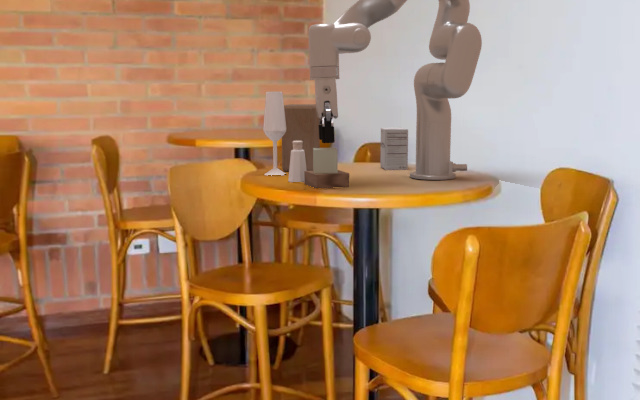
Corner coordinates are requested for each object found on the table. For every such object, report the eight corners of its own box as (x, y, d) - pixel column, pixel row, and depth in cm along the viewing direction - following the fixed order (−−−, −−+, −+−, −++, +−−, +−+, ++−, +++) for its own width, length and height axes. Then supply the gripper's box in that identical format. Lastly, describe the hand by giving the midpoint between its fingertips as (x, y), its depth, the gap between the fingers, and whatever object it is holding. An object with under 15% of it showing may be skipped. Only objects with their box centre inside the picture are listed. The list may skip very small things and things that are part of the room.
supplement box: (379, 167, 226) (380, 127, 224) (402, 167, 226) (403, 127, 224) (384, 170, 218) (384, 128, 216) (408, 169, 219) (408, 128, 217)
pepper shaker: (310, 182, 192) (310, 141, 190) (290, 183, 190) (290, 141, 189) (304, 179, 197) (304, 139, 195) (285, 180, 196) (285, 140, 194)
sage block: (336, 170, 188) (335, 147, 187) (337, 173, 182) (337, 149, 181) (313, 170, 188) (313, 148, 187) (314, 173, 182) (313, 150, 181)
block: (313, 172, 214) (313, 105, 210) (281, 171, 216) (280, 105, 212) (320, 168, 223) (320, 104, 220) (289, 167, 225) (288, 104, 222)
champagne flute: (261, 173, 211) (260, 91, 207) (283, 172, 213) (282, 91, 209) (266, 176, 205) (265, 91, 201) (289, 175, 207) (288, 91, 203)
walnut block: (335, 184, 191) (335, 169, 191) (349, 188, 183) (349, 173, 182) (304, 186, 188) (304, 171, 187) (316, 190, 180) (316, 174, 179)
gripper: (342, 73, 173) (344, 143, 175) (336, 73, 190) (337, 137, 192) (311, 74, 172) (314, 145, 175) (308, 74, 189) (310, 138, 192)
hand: (326, 141), depth 184 cm, fingers open, 9 cm apart
